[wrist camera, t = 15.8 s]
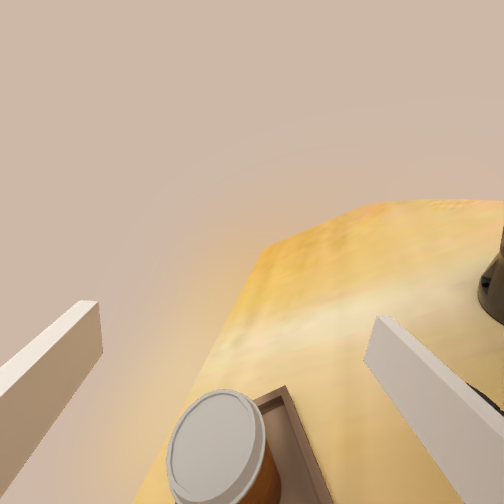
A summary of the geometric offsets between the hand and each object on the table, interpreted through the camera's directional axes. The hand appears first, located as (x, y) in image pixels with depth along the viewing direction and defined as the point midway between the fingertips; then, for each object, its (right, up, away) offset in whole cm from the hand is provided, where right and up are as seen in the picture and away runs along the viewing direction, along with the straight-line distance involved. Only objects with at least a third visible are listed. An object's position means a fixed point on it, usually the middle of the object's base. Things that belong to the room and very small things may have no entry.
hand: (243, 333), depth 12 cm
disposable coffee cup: (+1, -23, +16) cm, 28 cm away
